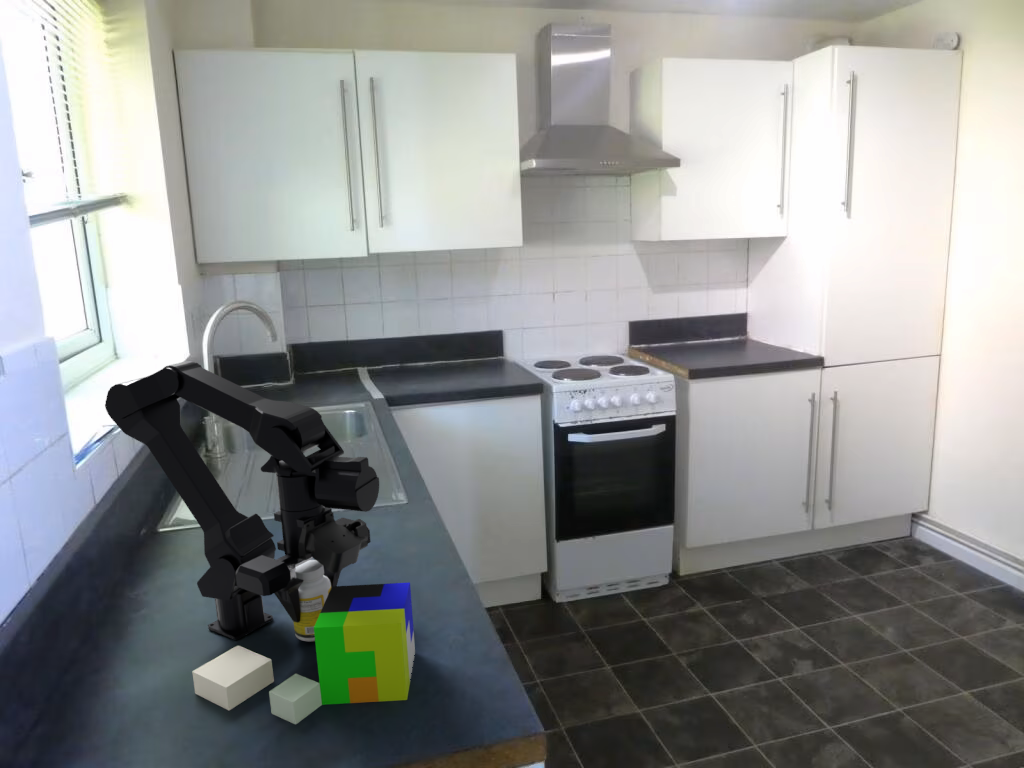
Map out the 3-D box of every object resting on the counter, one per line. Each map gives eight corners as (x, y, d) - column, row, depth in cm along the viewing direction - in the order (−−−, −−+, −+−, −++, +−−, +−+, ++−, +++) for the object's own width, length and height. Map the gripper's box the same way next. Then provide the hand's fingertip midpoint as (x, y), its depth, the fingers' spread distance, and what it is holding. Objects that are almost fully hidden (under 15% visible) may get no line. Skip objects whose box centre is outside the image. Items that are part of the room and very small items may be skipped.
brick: (271, 714, 85) (268, 691, 84) (298, 695, 88) (295, 673, 87) (295, 725, 82) (293, 702, 82) (321, 706, 86) (319, 683, 85)
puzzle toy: (415, 652, 96) (410, 582, 94) (407, 700, 86) (401, 623, 84) (338, 656, 96) (331, 586, 94) (321, 705, 86) (313, 627, 84)
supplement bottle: (315, 618, 104) (309, 554, 102) (343, 627, 101) (337, 561, 99) (286, 636, 99) (278, 569, 97) (314, 647, 96) (307, 578, 95)
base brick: (195, 693, 89) (192, 671, 88) (240, 666, 94) (237, 645, 93) (229, 710, 85) (226, 687, 85) (274, 681, 91) (271, 659, 90)
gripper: (287, 541, 84) (300, 663, 88) (395, 491, 100) (403, 596, 103) (226, 524, 90) (240, 638, 94) (337, 479, 106) (346, 578, 109)
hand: (313, 611), depth 100 cm, fingers closed on supplement bottle, 5 cm apart
